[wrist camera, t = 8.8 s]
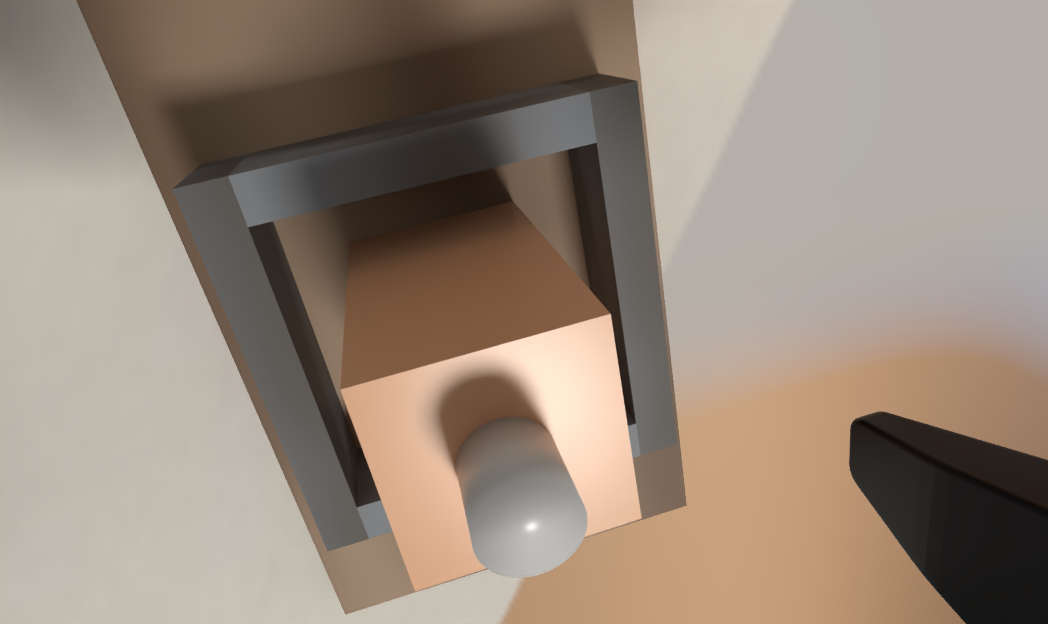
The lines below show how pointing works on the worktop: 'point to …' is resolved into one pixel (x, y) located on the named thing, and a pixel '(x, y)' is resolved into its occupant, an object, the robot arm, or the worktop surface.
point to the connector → (484, 396)
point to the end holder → (390, 198)
